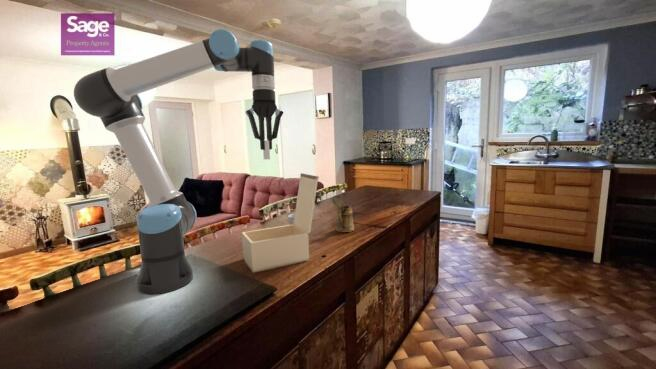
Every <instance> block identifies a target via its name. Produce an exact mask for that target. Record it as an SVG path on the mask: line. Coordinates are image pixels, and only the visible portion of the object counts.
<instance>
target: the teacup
mask: <svg viewBox="0 0 656 369" xmlns="http://www.w3.org/2000/svg"><path fill="white" fill-rule="evenodd" d="M294 217H295V212H294V213H290V214H289V215H287V218H288V225H292V224H294ZM297 227H298V226H297ZM302 230H303V229H302Z"/></svg>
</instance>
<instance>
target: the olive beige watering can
mask: <svg viewBox="0 0 656 369" xmlns="http://www.w3.org/2000/svg"><path fill="white" fill-rule="evenodd" d="M331 201H332V203H333V205H335V206H336V207H337V209H338V210H337V220H336V226H335V231H336V232H337V231H338V233H342V232H349V233H352V232H351V231H353V230H354V228H355V224H354V219H353V218H354V217H353V209H352V206H350V205H346V203H345V200H344V199H343V198H341V197H340V196H339V195H334V196H332V197H331ZM354 231H355V230H354ZM354 231H353V232H354Z"/></svg>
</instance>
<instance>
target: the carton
mask: <svg viewBox="0 0 656 369" xmlns="http://www.w3.org/2000/svg"><path fill="white" fill-rule="evenodd" d="M309 241H310V240H309V233H308V232H306V231H304V230H302V229H301V228H299V227H297V226H296V225H294V224H292V225H289V224H285V225H280V226H274V227H268V228H262V229H255V230H249V231H243V232H241V243H242V244H241V245H242V256H243V261H244V262H245V264H246V265H247V266H248V268H249V269H250V270H251V272H252V273H253V274H254V273H258V272H262V271H267V270H273V269H276V268H280V267H286V266H290V265H295V264H298V263H299V264H300V263H304V262H308V261H310V248H309V247H310V246H309V243H310V242H309Z"/></svg>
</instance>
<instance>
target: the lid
mask: <svg viewBox="0 0 656 369" xmlns="http://www.w3.org/2000/svg"><path fill="white" fill-rule="evenodd" d="M318 182H319V176H318V175H312V174H308V173H301V172H300V177H299V182H298V190H297V195H296V196H297V197H296V204H295V211H294V213H295V217H294V225H296V226H298V227H299V228H301V229H303V230H304V231H306V232H307V233H308V234H310V233H311V230H312V223H313V216H314V209H315V203H316V202H315V201H316V196H317V189H318V184H319V183H318Z"/></svg>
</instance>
